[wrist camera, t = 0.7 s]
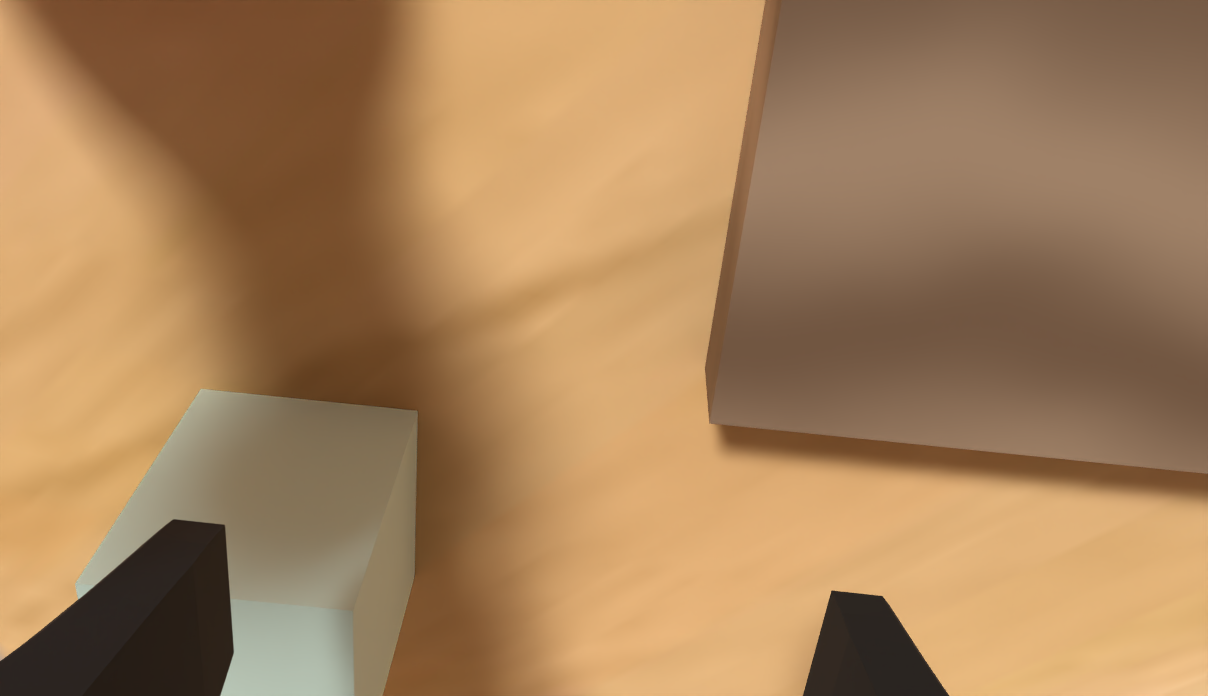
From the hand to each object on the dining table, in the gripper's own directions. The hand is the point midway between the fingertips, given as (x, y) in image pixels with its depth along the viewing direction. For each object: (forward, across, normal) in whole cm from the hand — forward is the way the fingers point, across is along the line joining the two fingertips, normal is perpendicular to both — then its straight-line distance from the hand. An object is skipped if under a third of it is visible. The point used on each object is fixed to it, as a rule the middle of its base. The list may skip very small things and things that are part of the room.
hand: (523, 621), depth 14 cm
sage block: (+10, +5, +6) cm, 12 cm away
